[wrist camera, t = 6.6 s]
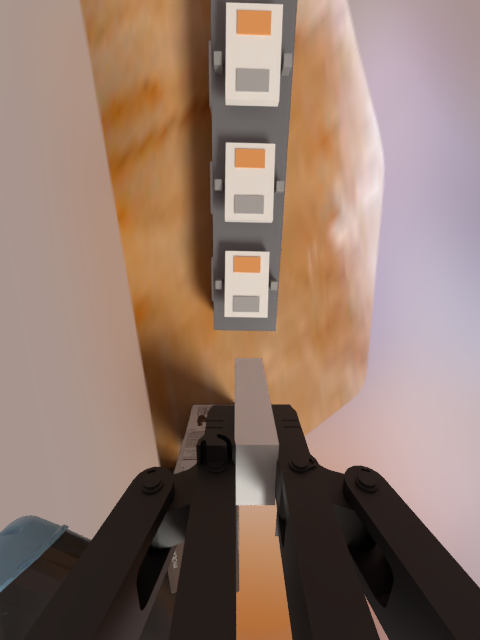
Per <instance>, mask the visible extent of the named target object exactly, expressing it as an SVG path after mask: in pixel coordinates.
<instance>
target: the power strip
mask: <svg viewBox="0 0 480 640" xmlns="http://www.w3.org/2000/svg"><path fill="white" fill-rule="evenodd" d="M226 2H228V3H258V4H283V19H282V44H281V69H280V94H279V103H278V107H274V106H239V105H226V102H225V78H226ZM296 13H297V0H211V41H209V107H210V112H211V116H212V161H210V209H211V214H212V215H213V256H212V258H211V293H212V301H214V330H242V331H276V316H277V301H278V286H279V270H280V255H281V240H282V225H283V210H284V195H285V179H286V164H287V149H288V134H289V119H290V104H291V88H292V73H293V58H294V43H295V28H296ZM226 142H227V143H264V144H275V169H274V201H273V221H272V223H255V222H225V162H226ZM225 251H256V252H269V285H268V318H256V317H224V314H225Z"/></svg>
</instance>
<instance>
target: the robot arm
mask: <svg viewBox="0 0 480 640" xmlns="http://www.w3.org/2000/svg"><path fill="white" fill-rule="evenodd" d="M196 453H197V463H196V464H195V465H194V466H193V467H191V468H190V469H188V470H185V471H183V472H179V473H176V474H174V471H175V468H174V469H169V470H168V469H166V468H164V467H152V468H149V469H146V470H144V471H143V472H141V473H139V474H138V475H137V477H136V478H135V479H134V480H133V481H132V483H131V484H130V486H129V487H128V488H127V490H126V492H125V493H124V494H123V496H122V497H121V499H120V500H119V502H118V503H117V504H116V506H115V507H114V509H113V510H112V512H111V513H110V515H109V516H108V518H107V519H106V520H105V522H104V523H103V525H102V526H101V527H100V529H99V531H98V532H97V533H96V535H95V536H94V538H93V539H92V540H90V539H88V538H86V537H83V536H81V535H79V534H77V533H75V532H73V531H71V530H68V526H66V525H63V526H60V525H57V524H55V523H52V522H49V521H47V520H44V519H42V518H39V517H37V516H24V517H21V518H19V519H16V520H15V521H13V522H12V523H10V524H9V525H8V526H7V527H6V528H4V529H3V530H2V531H1V532H0V640H236V505H275V497H276V504H277V519H276V533H275V536H279V542H280V550H281V557H282V565H283V572H284V580H285V587H286V595H287V601H288V609H289V617H290V623H291V631H292V639H293V640H380V638H379V636H378V633H377V630H376V627H375V624H374V621H373V618H372V616H371V612H370V610H369V607H368V604H367V601H366V598H367V600H368V602H369V604H370V605H371V607H372V609H373V611H374V612H375V615H376V616H377V618H378V620H379V622H380V624H381V626H382V628H383V629H384V631H385V633H386V635H387V637H388V639H389V640H480V588H479V587H478V586H477V584H476V583H475V582H474V581H473V580H472V579H471V578H470V577H469V576H468V574H467V573H466V572H465V571H464V570H463V568H462V567H461V566H460V565H459V564H458V563H457V562H456V560H455V559H454V558H453V557H452V556H451V555H450V553H449V552H448V551H447V550H446V549H445V548H444V547H443V546H442V544H441V543H440V542H439V541H438V540H437V539H436V537H435V536H434V535H433V534H432V533H431V532H430V531H429V530H428V528H427V527H426V526H425V525H424V524H423V523H422V521H421V520H420V519H419V518H418V517H417V516H416V515H415V513H414V512H413V511H412V510H411V509H410V508H409V506H408V505H407V504H406V503H405V502H404V501H403V500H402V498H401V497H400V496H399V495H398V494H397V493H396V492H395V490H394V489H393V488H392V487H391V486H390V485H389V484H388V482H387V481H386V480H385V479H384V478H383V477H382V476H381V475H380V474H379V473H377V472H376V471H374V470H372V469H370V468H368V467H364V466H352V467H350V468H348V469H347V471H346V472H345V474H342V473H339V472H335V471H331V470H328V469H326V468H324V467H322V466H320V465H319V464H318V462H317V460H316V459H315V458H314V457H313V456H312V455H310V452H309V449H308V447H307V443H306V440H305V437H304V434H303V431H302V428H301V425H300V422H299V419H298V416H297V413H296V411H295V410H294V409H293V408H292V407H291V406H290V405H271V402H270V397H269V392H268V386H267V381H266V376H265V371H264V366H263V361H262V358H235V405H213V406H212V407H211V409H210V410H209V411H208V414H207V420H206V427H205V433H204V435H203V436H202V437H201V438H200V439H199V440H198V442H197V445H196ZM182 542H184V548H183V555H182V561H181V567H180V573H179V579H178V585H177V592H174V593H171V590H170V584H169V577H168V570H167V569H168V567H169V565H170V562H171V560H172V557H173V555H174V552H175V550H176V547H177V544H180V543H182ZM364 594H365V595H364ZM365 596H366V598H365Z"/></svg>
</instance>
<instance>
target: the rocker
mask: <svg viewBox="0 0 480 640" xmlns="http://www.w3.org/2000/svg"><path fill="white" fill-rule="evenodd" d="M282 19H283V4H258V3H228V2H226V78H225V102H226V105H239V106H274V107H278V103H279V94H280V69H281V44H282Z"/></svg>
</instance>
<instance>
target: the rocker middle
mask: <svg viewBox="0 0 480 640" xmlns="http://www.w3.org/2000/svg"><path fill="white" fill-rule="evenodd" d="M274 169H275V144H264V143H227V142H226V162H225V222H255V223H272V221H273V201H274Z"/></svg>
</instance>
